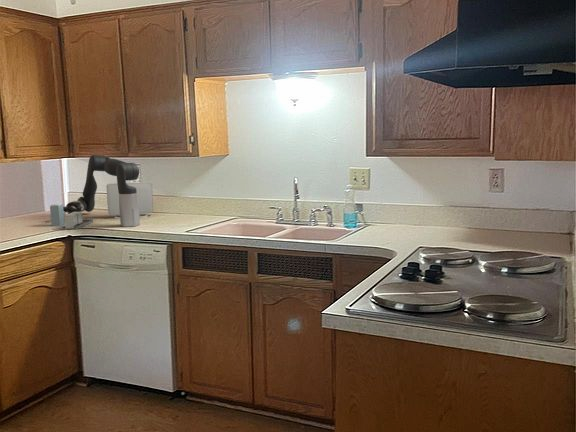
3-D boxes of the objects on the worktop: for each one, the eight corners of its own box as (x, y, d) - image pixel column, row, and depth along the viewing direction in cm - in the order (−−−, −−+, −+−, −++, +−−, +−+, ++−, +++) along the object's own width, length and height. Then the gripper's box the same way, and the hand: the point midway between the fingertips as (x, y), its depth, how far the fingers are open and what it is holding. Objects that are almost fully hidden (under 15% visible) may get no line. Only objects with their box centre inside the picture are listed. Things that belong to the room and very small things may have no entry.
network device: (108, 219, 335) (106, 184, 332) (108, 217, 344) (106, 183, 341) (154, 216, 343) (152, 182, 340) (152, 214, 351) (150, 181, 348)
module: (56, 224, 320) (54, 203, 318) (64, 224, 320) (62, 203, 318) (51, 226, 314) (49, 205, 312) (59, 226, 314) (58, 204, 312)
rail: (79, 222, 325) (78, 209, 324) (92, 222, 325) (92, 208, 324) (62, 229, 302) (61, 215, 301) (77, 229, 302) (76, 214, 301)
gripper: (62, 201, 340) (50, 204, 323) (86, 201, 339) (75, 204, 323) (63, 214, 341) (51, 218, 325) (87, 213, 340) (76, 217, 324)
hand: (63, 211), depth 324 cm, fingers open, 8 cm apart
